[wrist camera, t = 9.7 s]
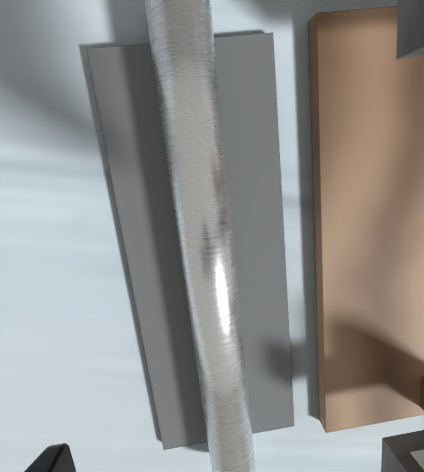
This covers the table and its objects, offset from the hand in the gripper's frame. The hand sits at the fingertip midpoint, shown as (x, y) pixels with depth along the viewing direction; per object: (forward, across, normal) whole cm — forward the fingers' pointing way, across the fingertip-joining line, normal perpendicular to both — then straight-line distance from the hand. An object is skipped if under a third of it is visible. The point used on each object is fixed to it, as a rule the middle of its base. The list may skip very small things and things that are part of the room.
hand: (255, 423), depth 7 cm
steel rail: (+10, 0, 0) cm, 11 cm away
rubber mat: (+11, 0, 0) cm, 11 cm away
